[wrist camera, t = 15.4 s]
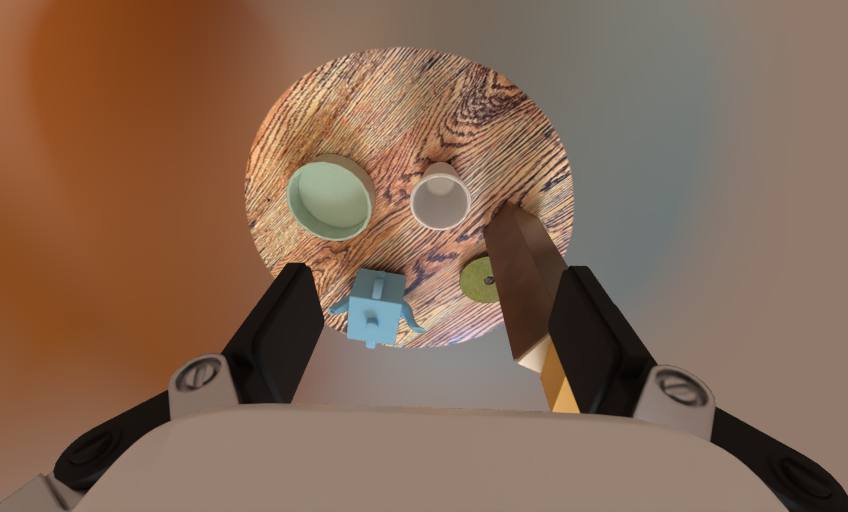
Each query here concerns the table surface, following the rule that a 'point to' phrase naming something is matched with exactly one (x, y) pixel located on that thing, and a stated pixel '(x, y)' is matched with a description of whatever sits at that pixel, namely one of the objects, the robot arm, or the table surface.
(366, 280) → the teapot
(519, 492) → the robot arm
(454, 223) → the dixie cup
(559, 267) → the stand
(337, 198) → the bowl
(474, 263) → the mat
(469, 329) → the table surface
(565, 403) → the yellow rectangular block
